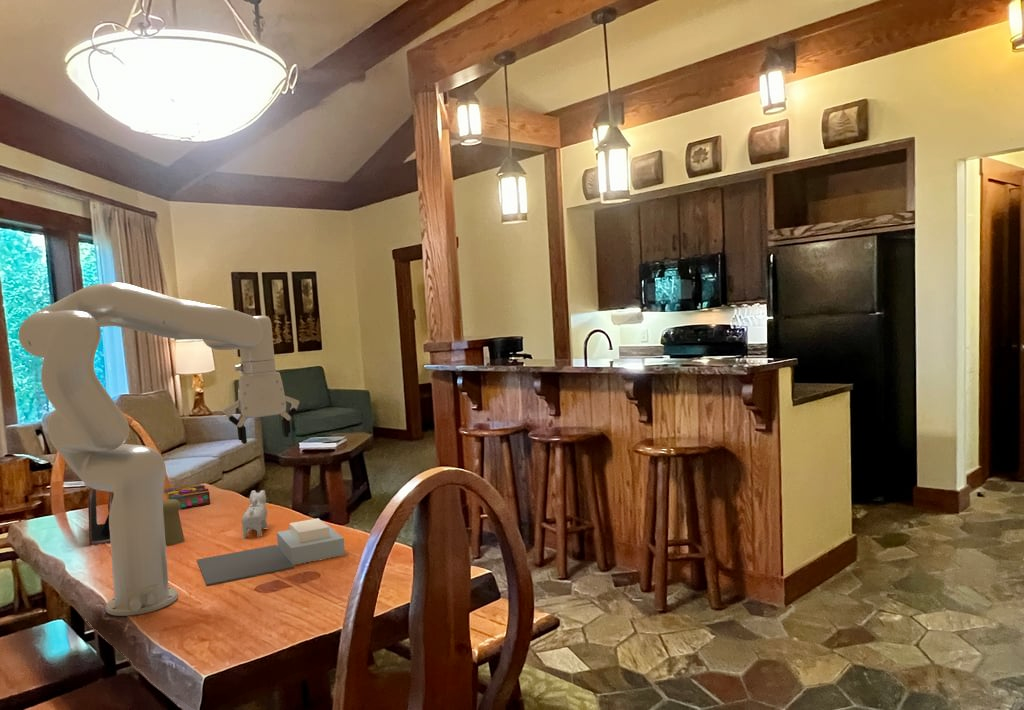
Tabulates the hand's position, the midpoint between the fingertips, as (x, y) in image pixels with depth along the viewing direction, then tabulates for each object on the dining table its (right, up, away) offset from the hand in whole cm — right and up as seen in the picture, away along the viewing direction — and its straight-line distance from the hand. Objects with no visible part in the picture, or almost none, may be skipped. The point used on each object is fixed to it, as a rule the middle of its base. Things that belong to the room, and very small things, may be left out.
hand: (265, 439), depth 168 cm
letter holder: (-51, -29, +26) cm, 64 cm away
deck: (+11, -27, +1) cm, 29 cm away
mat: (-3, -28, -7) cm, 29 cm away
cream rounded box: (+10, -23, +1) cm, 25 cm away
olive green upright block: (-29, -29, +15) cm, 44 cm away
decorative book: (-45, -28, +58) cm, 79 cm away
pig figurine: (-10, -27, +20) cm, 35 cm away
